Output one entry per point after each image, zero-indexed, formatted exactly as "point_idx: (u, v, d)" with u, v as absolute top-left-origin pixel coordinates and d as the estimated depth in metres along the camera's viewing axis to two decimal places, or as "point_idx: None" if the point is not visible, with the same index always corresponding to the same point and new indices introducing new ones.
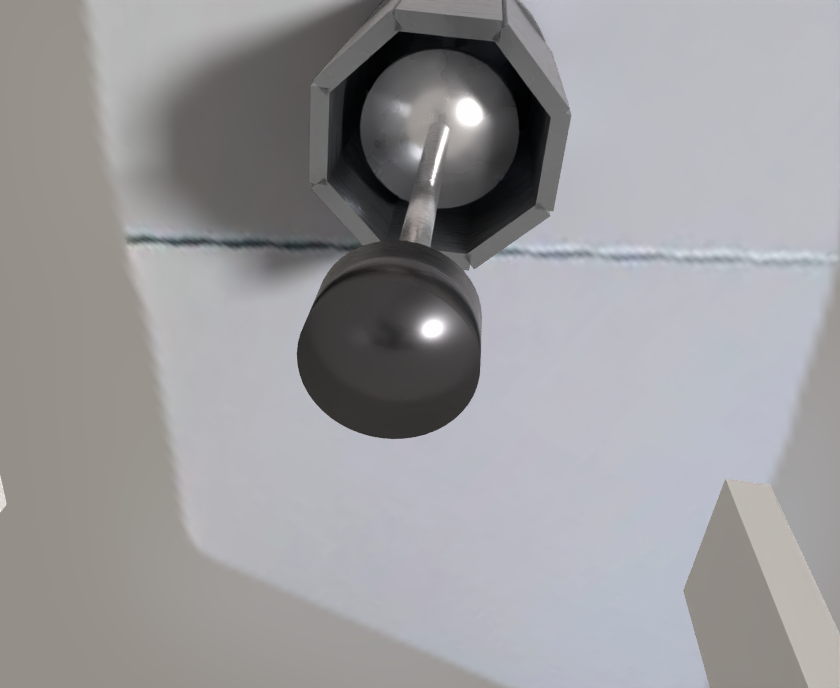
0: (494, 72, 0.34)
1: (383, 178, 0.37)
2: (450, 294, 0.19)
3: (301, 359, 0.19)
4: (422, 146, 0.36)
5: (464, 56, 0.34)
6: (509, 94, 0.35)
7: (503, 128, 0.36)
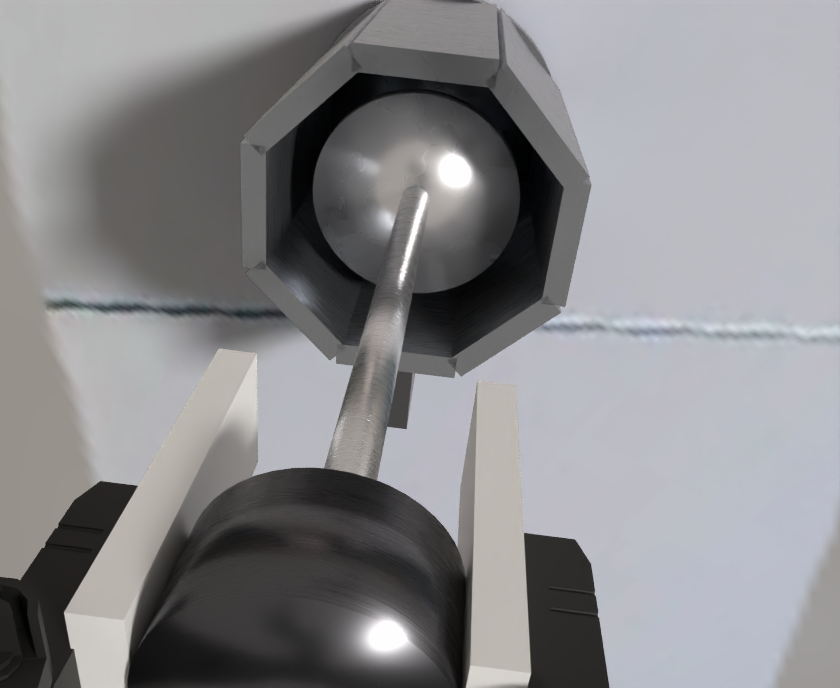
0: (488, 123, 0.26)
1: (344, 255, 0.29)
2: (406, 599, 0.10)
3: None
4: (394, 216, 0.28)
5: (448, 102, 0.26)
6: (507, 152, 0.26)
7: (499, 195, 0.27)
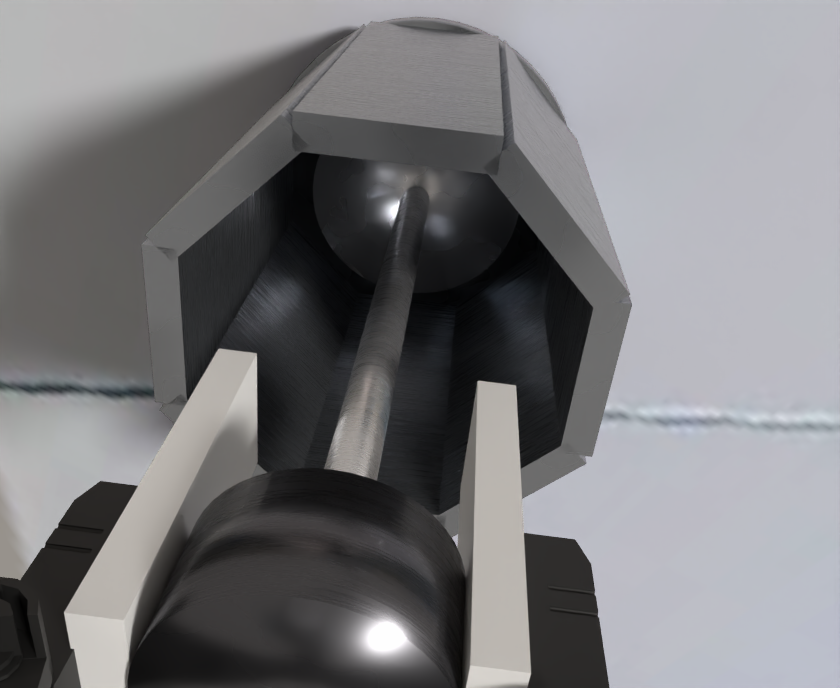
0: None
1: (344, 255, 0.29)
2: (406, 599, 0.10)
3: None
4: (394, 216, 0.28)
5: None
6: None
7: (499, 195, 0.27)
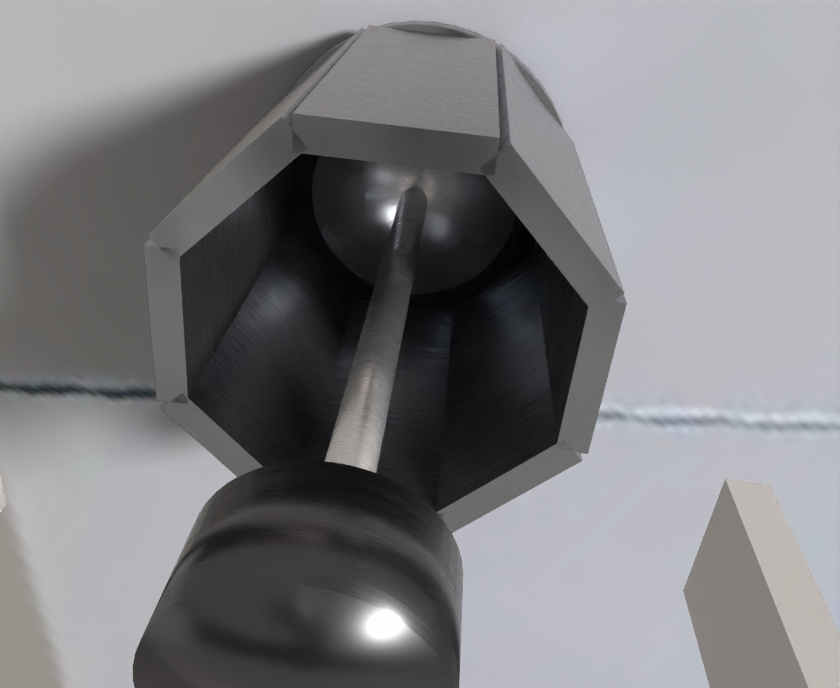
0: None
1: (343, 256, 0.29)
2: (404, 587, 0.10)
3: (142, 687, 0.11)
4: (392, 217, 0.28)
5: None
6: None
7: (497, 196, 0.28)
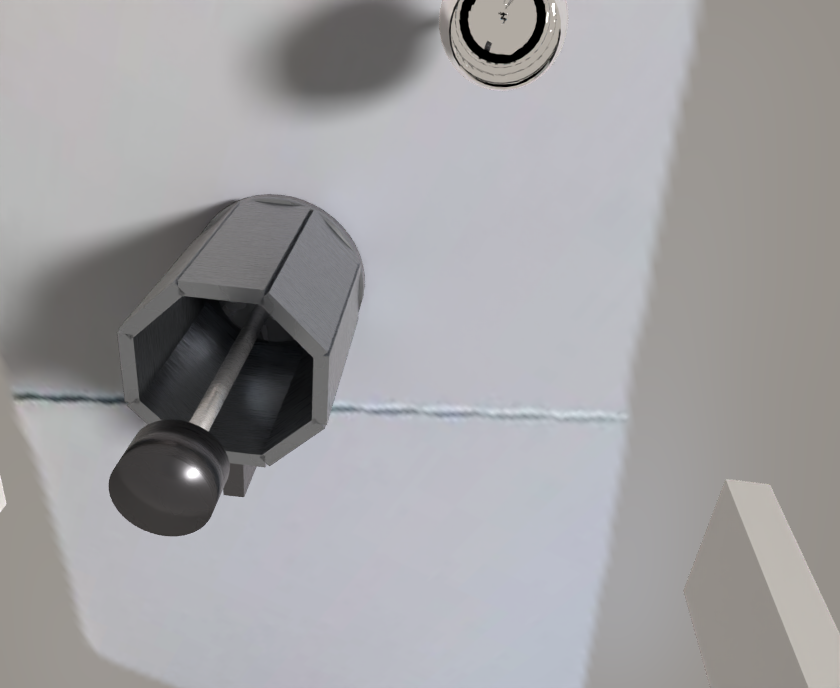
0: None
1: (235, 321, 0.51)
2: (194, 456, 0.33)
3: (111, 492, 0.33)
4: None
5: None
6: None
7: None
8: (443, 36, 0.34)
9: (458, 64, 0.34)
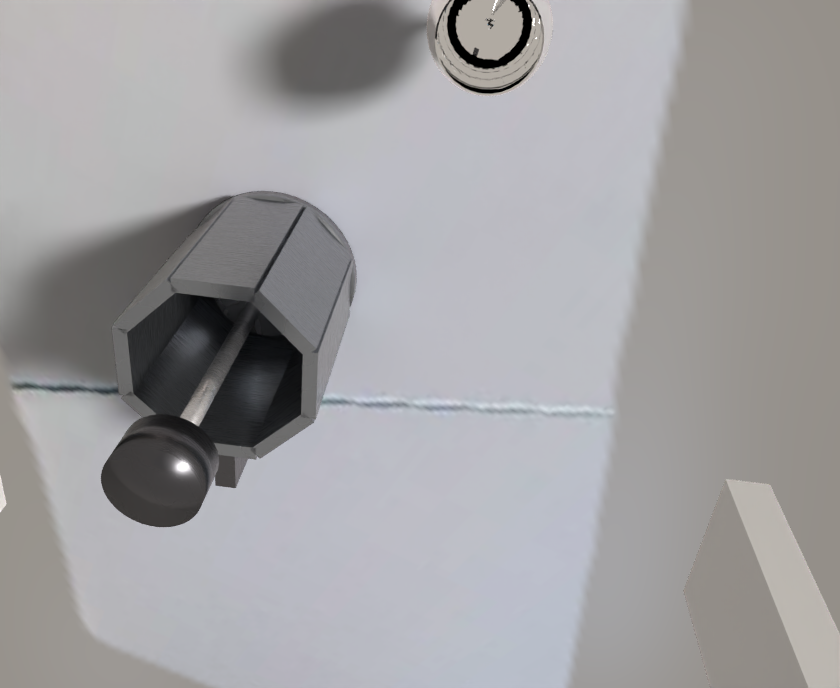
0: None
1: (229, 315, 0.52)
2: (183, 451, 0.34)
3: (104, 484, 0.34)
4: None
5: None
6: None
7: None
8: (430, 42, 0.35)
9: (444, 70, 0.34)
